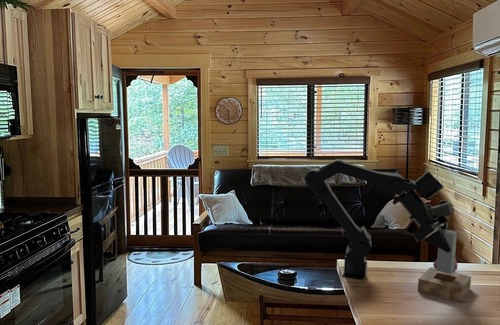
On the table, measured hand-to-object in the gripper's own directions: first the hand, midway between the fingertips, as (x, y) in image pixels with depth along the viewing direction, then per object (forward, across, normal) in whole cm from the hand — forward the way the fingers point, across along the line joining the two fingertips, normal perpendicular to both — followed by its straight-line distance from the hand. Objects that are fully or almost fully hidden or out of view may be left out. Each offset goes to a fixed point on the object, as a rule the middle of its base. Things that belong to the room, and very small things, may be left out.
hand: (451, 250), depth 131 cm
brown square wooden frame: (+8, 0, +10) cm, 13 cm away
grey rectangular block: (+4, 0, +6) cm, 7 cm away
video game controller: (+6, +16, +13) cm, 21 cm away
